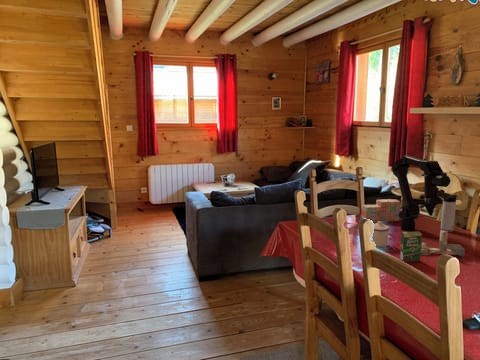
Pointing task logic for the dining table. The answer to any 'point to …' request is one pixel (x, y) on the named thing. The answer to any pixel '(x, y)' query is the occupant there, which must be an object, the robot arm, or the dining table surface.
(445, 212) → the travel mug
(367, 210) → the stack of blocks
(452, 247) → the keeper
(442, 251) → the link
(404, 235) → the coffee box
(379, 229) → the teacup with lid
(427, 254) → the pintle
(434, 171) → the robot arm
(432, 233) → the dining table surface
